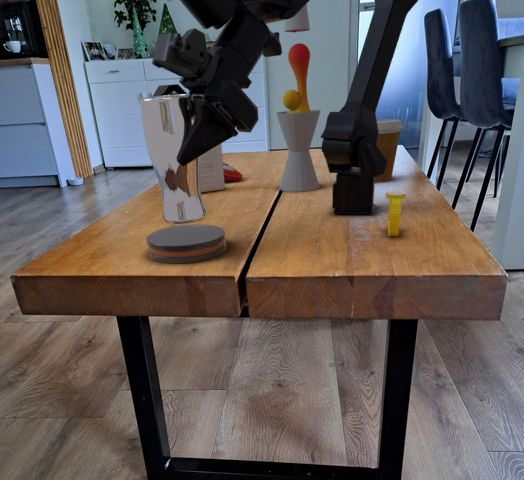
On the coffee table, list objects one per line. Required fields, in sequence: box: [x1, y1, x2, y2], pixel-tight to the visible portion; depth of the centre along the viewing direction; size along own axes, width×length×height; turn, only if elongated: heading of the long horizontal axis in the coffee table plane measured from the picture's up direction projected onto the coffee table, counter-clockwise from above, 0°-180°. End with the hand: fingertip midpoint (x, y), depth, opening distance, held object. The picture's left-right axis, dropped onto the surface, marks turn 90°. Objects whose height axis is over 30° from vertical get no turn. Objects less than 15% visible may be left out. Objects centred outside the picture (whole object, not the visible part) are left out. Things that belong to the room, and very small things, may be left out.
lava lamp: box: [275, 3, 321, 193], centre depth 98 cm, size 9×9×35 cm
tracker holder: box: [223, 161, 243, 182], centre depth 120 cm, size 12×4×10 cm
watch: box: [385, 189, 407, 237], centre depth 70 cm, size 6×3×6 cm, turn 170°
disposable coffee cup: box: [375, 118, 404, 183], centre depth 107 cm, size 10×10×12 cm
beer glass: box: [139, 93, 208, 225], centre depth 64 cm, size 7×7×15 cm
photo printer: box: [200, 143, 226, 193], centre depth 106 cm, size 10×4×12 cm, turn 117°
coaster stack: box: [146, 223, 227, 264], centre depth 69 cm, size 11×11×2 cm
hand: (167, 161), depth 63 cm, fingers closed on beer glass, 7 cm apart
